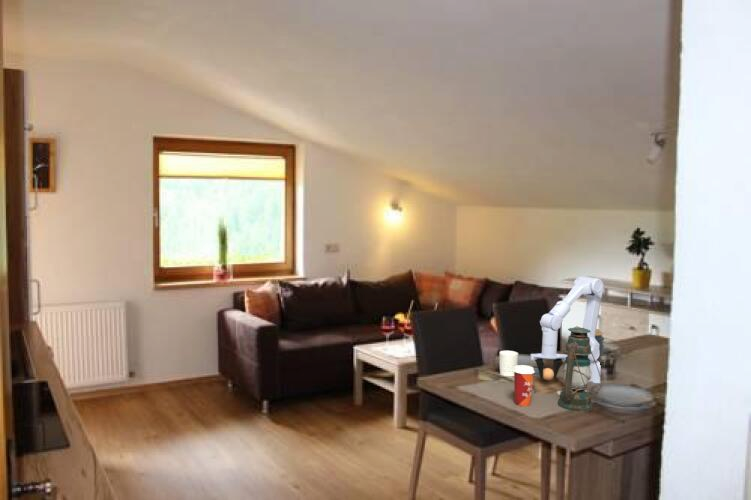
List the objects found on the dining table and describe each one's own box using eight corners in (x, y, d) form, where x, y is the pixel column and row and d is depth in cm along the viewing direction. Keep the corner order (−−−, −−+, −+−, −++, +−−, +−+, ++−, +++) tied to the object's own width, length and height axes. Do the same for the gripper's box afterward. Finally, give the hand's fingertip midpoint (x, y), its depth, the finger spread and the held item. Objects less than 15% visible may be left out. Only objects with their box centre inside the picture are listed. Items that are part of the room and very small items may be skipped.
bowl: (551, 374, 287) (551, 368, 287) (560, 383, 275) (560, 376, 274) (522, 374, 287) (522, 368, 286) (529, 383, 274) (530, 376, 274)
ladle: (586, 390, 264) (586, 387, 264) (590, 395, 261) (591, 392, 260) (555, 392, 262) (555, 389, 262) (559, 397, 258) (559, 394, 258)
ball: (551, 378, 270) (552, 366, 269) (555, 381, 265) (556, 370, 265) (540, 378, 270) (540, 366, 269) (543, 381, 265) (544, 369, 264)
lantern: (568, 395, 259) (572, 320, 256) (605, 404, 250) (610, 325, 247) (548, 408, 244) (552, 328, 240) (586, 417, 235) (591, 334, 232)
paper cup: (528, 409, 243) (530, 371, 241) (508, 404, 247) (510, 368, 245) (535, 403, 249) (537, 366, 248) (516, 399, 254) (517, 363, 252)
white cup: (517, 379, 279) (518, 355, 278) (498, 377, 281) (499, 354, 280) (517, 373, 287) (518, 351, 286) (498, 372, 289) (499, 349, 288)
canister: (606, 361, 311) (608, 324, 309) (599, 367, 300) (601, 329, 298) (578, 356, 317) (580, 320, 316) (570, 362, 307) (572, 325, 305)
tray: (559, 383, 275) (559, 377, 275) (570, 394, 261) (570, 388, 261) (525, 383, 274) (525, 377, 274) (534, 393, 260) (535, 387, 260)
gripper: (564, 341, 270) (562, 374, 271) (528, 341, 269) (527, 374, 271) (570, 346, 263) (568, 379, 264) (533, 345, 262) (532, 379, 264)
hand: (547, 377), depth 267 cm, fingers closed on ball, 5 cm apart
